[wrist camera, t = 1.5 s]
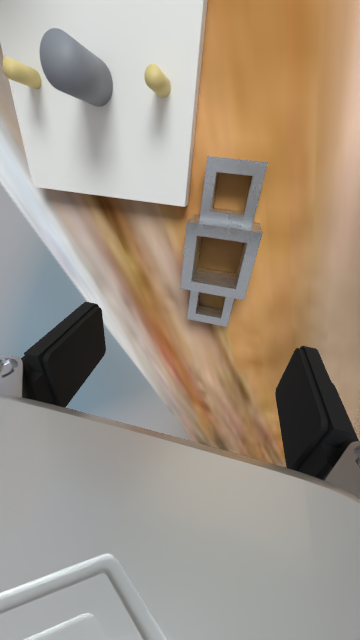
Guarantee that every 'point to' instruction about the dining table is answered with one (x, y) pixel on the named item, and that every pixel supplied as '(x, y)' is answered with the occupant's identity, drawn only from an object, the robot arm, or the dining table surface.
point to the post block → (106, 93)
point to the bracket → (225, 228)
